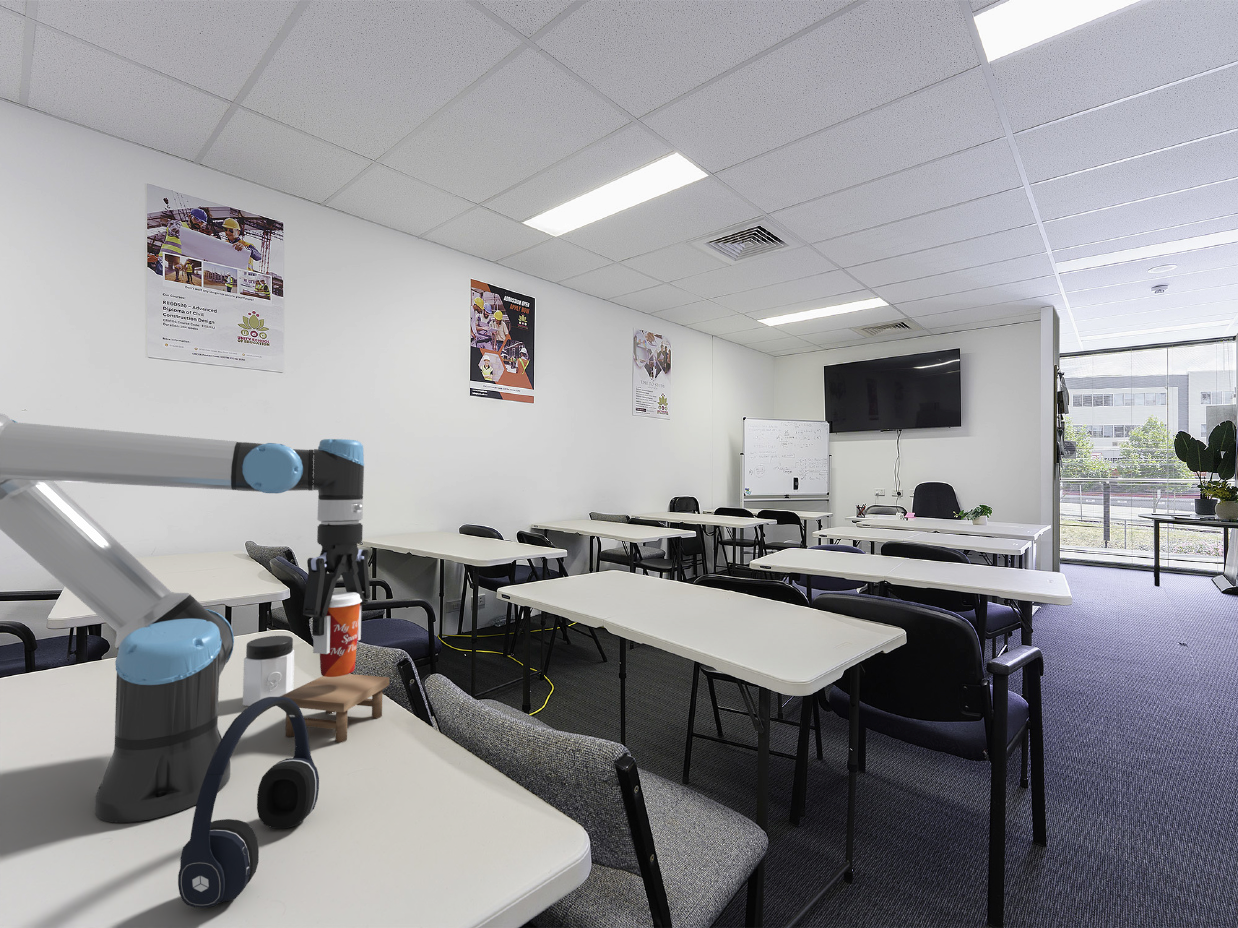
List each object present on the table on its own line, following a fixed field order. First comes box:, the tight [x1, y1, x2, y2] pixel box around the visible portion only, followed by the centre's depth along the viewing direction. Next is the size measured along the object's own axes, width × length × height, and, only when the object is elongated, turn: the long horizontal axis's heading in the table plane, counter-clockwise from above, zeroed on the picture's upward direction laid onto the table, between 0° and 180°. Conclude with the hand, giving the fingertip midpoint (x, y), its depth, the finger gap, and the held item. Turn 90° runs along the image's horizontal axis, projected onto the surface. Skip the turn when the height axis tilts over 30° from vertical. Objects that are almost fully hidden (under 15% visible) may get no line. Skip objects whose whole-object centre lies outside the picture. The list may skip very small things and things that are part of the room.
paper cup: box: [319, 591, 362, 677], centre depth 104 cm, size 8×8×14 cm
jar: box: [242, 635, 295, 707], centre depth 115 cm, size 9×8×12 cm
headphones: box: [177, 697, 320, 909], centre depth 67 cm, size 20×7×18 cm, turn 2°
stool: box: [280, 673, 390, 744], centre depth 103 cm, size 13×13×7 cm
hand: (337, 645), depth 104 cm, fingers closed on paper cup, 8 cm apart
